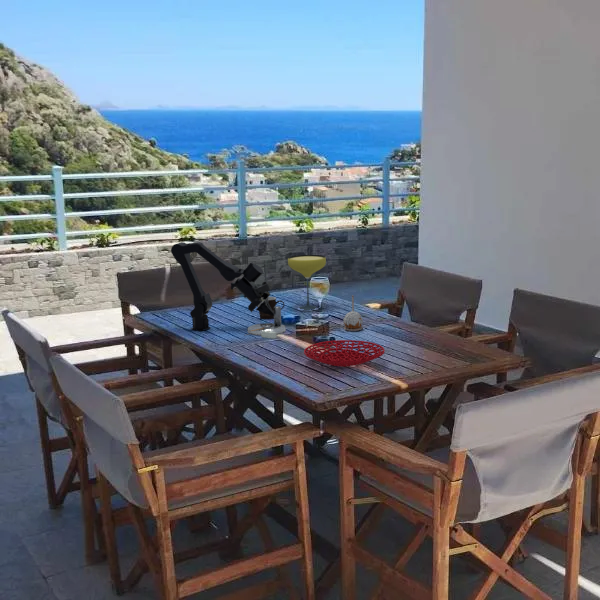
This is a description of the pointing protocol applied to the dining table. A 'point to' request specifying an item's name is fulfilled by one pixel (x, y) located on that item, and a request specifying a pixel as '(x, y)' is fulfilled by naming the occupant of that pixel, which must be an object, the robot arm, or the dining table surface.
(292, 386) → the dining table surface
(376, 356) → the bowl
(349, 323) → the decorative ornament
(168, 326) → the dining table surface
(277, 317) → the turntable platter
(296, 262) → the cocktail glass
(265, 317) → the coffee mug
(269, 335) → the base plate
